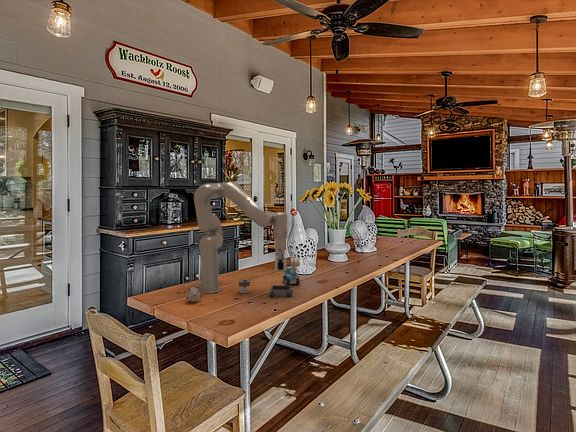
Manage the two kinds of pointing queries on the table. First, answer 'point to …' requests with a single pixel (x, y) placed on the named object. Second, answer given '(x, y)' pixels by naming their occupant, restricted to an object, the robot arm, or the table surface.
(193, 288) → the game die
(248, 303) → the table surface
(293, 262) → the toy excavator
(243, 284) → the wheel
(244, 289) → the axle mount
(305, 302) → the table surface
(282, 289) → the chassis
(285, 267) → the engine block
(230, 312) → the table surface
